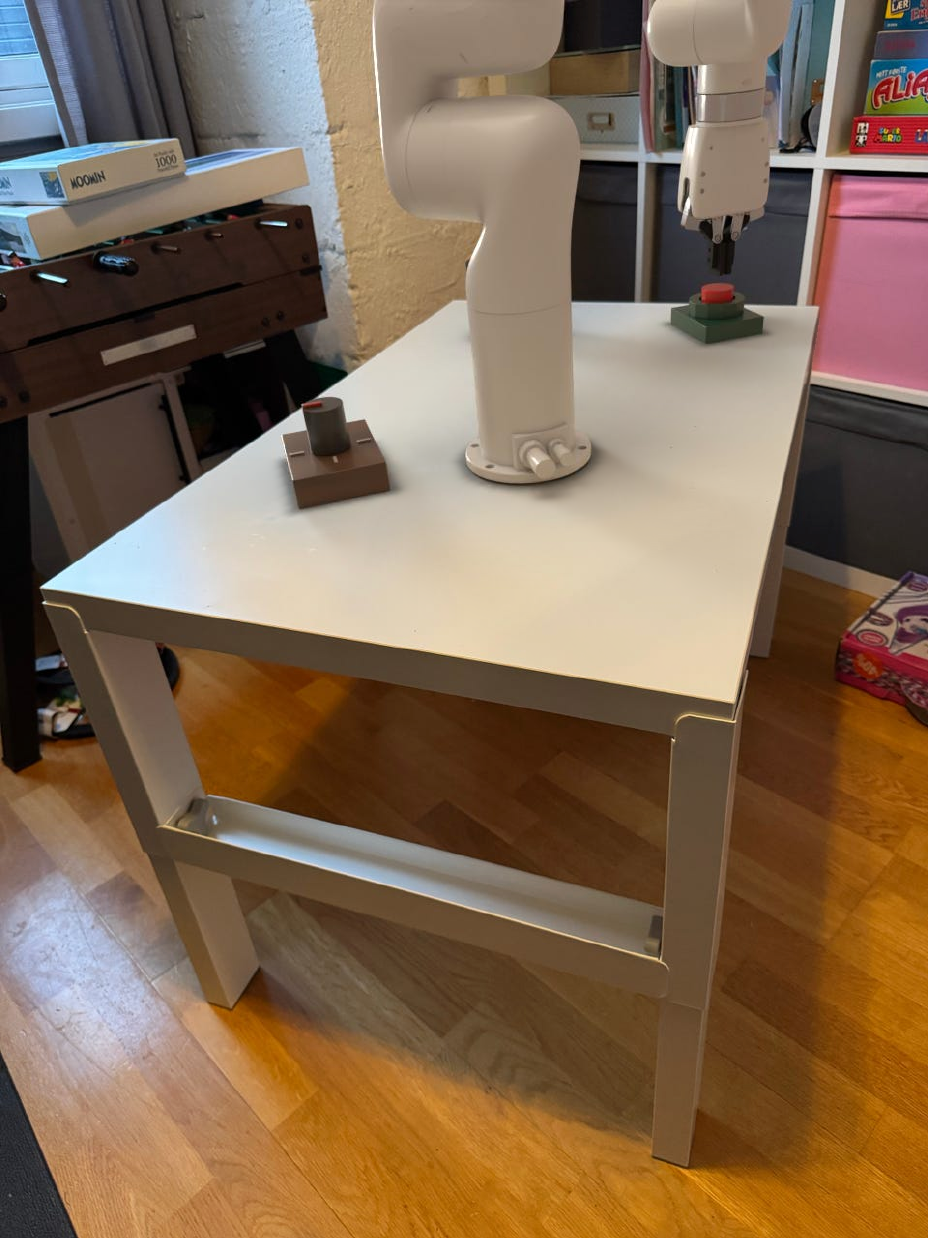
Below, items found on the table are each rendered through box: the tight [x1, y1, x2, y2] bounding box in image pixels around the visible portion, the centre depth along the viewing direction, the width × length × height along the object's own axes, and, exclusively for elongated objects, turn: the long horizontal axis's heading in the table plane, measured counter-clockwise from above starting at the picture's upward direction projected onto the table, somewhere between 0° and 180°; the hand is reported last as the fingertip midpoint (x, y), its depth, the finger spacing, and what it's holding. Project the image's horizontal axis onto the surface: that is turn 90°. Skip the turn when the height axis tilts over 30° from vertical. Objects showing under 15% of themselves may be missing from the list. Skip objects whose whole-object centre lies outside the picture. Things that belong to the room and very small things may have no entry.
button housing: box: [670, 291, 765, 345], centre depth 115 cm, size 10×8×4 cm
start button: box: [700, 282, 735, 303], centre depth 114 cm, size 4×4×2 cm
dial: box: [301, 396, 351, 456], centre depth 87 cm, size 4×4×5 cm
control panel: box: [280, 418, 391, 510], centre depth 89 cm, size 12×9×3 cm
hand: (719, 272), depth 112 cm, fingers closed
